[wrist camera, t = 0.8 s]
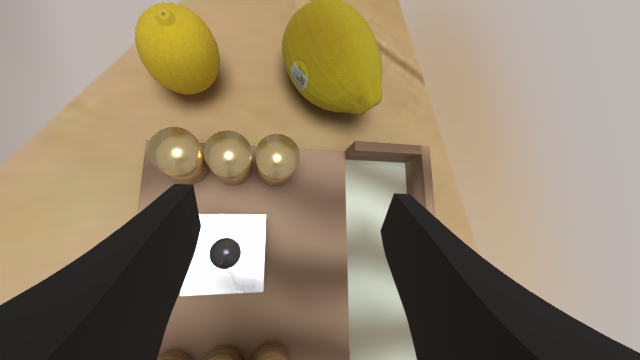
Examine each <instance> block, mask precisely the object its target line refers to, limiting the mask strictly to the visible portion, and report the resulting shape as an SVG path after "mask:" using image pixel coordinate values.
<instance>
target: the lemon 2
mask: <svg viewBox="0 0 640 360" xmlns="http://www.w3.org/2000/svg"><path fill="white" fill-rule="evenodd" d="M282 52H283V58H284V63H285V67H286V71H287V73H288V75H289V78H290V79H291V81H292V82H293V84H294V86H295V87H296V88H297V90H298V91H299V92H300V93H301V95H302V96H303V97H305V98H306V99H307V100H308V101H309V102H311V103H312V104H314V105H316V106H318V107H320V108H322V109H325V110H328V111H333V112H346V113H350V114H355V115H362V114H364V113H365V112H366V111H367V110H369V109H370V108H372V107H374V106H375V105H377V104H379V103H380V101H381V99H382V87H381V84H382V60H381V54H380V50H379V47H378V45H377V42H376V39H375V37H374V34H373V32H372V30H371V28H370V27H369V25H368V24H367V22H366V21H365V19H364V18H363V17H362V16H361V15H360V14H359V13H358V12H357V11H356V10H355V9H354V8H353V7H352V6H350V5H349V4H347V3H345V2H343V1H341V0H314V1H312V2H310V3H308V4H305V5H304V6H303V7H301V8H300V9H299V10H298V11H297V12H296V13H295V14H294V15H293V17H292V18H291V20H290V21H289V23H288V25H287V27H286V30H285V33H284V36H283V43H282Z"/></svg>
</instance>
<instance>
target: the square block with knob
mask: <svg viewBox="0 0 640 360" xmlns="http://www.w3.org/2000/svg"><path fill="white" fill-rule="evenodd" d="M199 217H200V222H201V230H200V235H199V239H198V243H197V247H196V251H195V254H194V257H193V259H192V262H191V264H190V267H189V270H188V272H187V275H186V277H185V280H184V282H183V285H182V288H181V292H180V296H191V295H212V294H232V293H253V292H263V288H264V257H265V226H266V215H238V214H199Z"/></svg>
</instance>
